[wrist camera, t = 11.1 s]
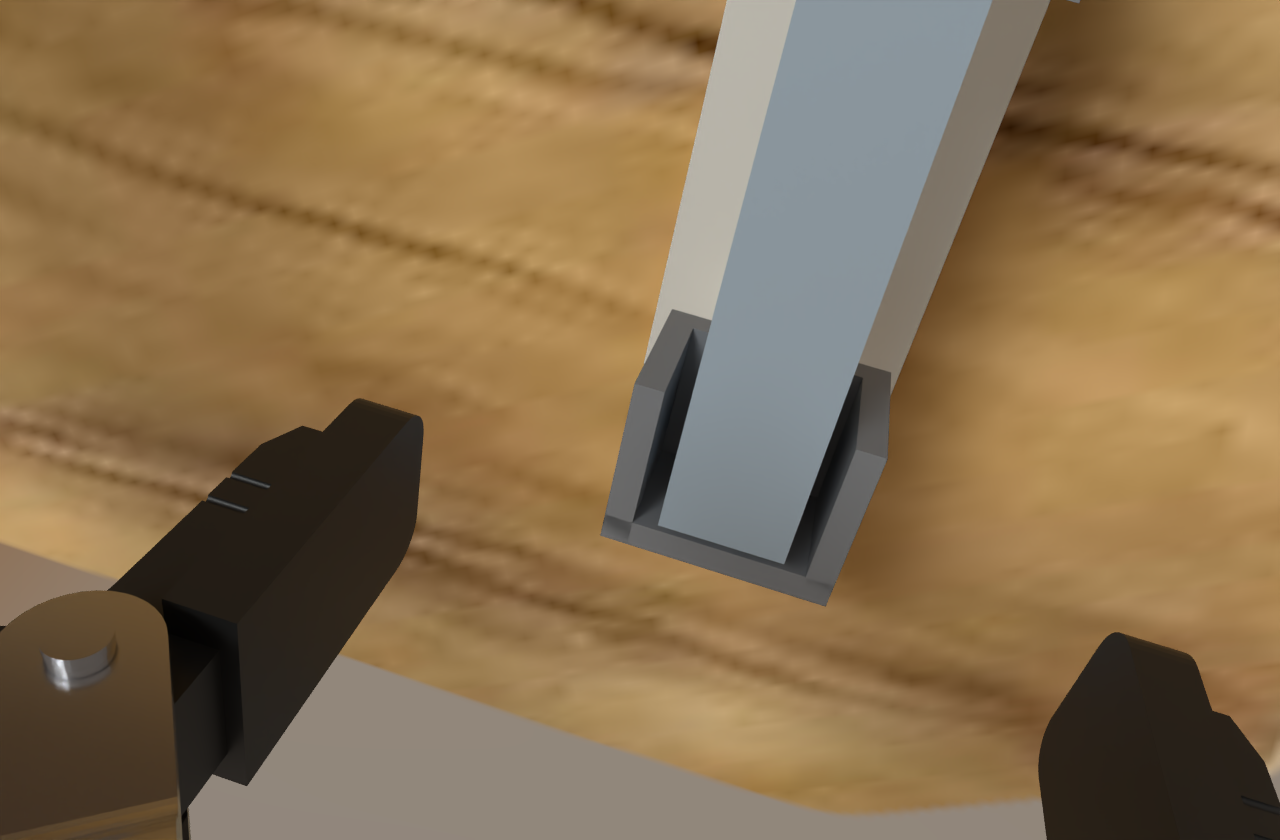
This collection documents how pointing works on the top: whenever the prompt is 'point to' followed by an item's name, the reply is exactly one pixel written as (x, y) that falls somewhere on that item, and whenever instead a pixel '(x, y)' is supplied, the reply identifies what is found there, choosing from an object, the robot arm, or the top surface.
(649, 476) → the stand
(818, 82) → the rail
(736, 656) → the top surface
